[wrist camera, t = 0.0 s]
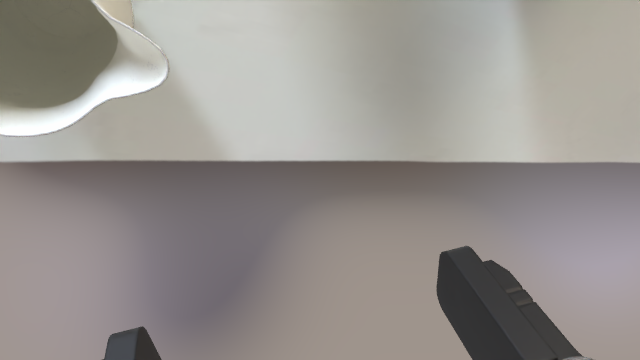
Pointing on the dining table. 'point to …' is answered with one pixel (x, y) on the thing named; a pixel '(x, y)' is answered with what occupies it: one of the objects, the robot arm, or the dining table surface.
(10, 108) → the pitcher
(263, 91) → the dining table surface
